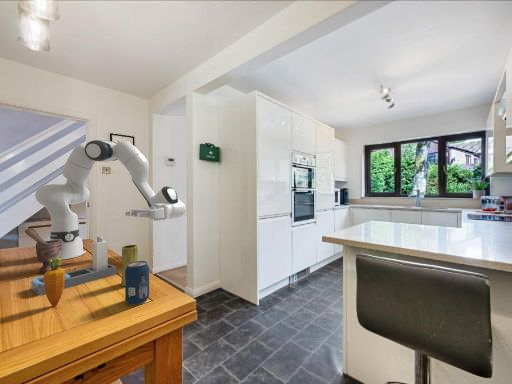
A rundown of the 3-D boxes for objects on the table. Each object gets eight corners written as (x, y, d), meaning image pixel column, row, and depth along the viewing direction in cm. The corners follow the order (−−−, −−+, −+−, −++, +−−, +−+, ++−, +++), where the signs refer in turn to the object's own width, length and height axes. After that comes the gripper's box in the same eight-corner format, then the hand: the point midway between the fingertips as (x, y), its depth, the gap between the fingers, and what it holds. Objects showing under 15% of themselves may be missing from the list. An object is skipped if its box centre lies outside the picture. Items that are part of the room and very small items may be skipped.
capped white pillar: (92, 275, 98) (92, 237, 98) (103, 272, 101) (103, 235, 101) (97, 277, 95) (96, 238, 95) (107, 274, 99) (107, 236, 99)
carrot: (43, 306, 71) (42, 257, 71) (63, 300, 75) (63, 254, 75) (45, 312, 68) (44, 261, 68) (66, 305, 72) (66, 257, 72)
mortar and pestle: (28, 278, 94) (28, 229, 94) (24, 274, 100) (23, 227, 99) (64, 270, 104) (63, 225, 104) (58, 266, 109) (58, 224, 109)
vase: (131, 287, 85) (130, 248, 85) (116, 286, 86) (116, 247, 86) (142, 281, 91) (142, 244, 91) (129, 279, 92) (128, 244, 92)
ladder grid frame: (30, 289, 84) (30, 279, 84) (106, 269, 105) (106, 261, 105) (38, 295, 79) (38, 284, 79) (116, 273, 99) (116, 264, 99)
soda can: (133, 295, 78) (132, 260, 78) (153, 295, 78) (153, 260, 78) (120, 305, 72) (120, 267, 71) (142, 306, 71) (142, 267, 71)
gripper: (146, 205, 126) (119, 207, 115) (169, 206, 115) (143, 208, 103) (146, 217, 126) (120, 219, 115) (170, 218, 115) (143, 222, 103)
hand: (131, 214), depth 109 cm, fingers open, 8 cm apart
